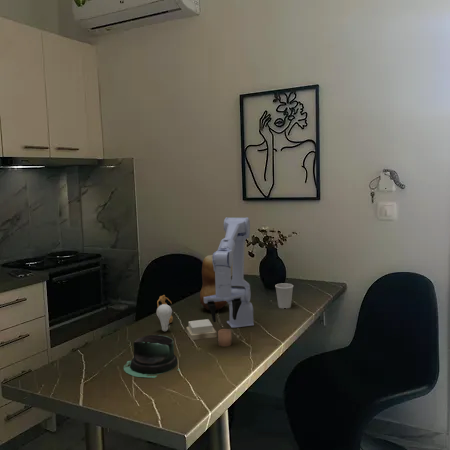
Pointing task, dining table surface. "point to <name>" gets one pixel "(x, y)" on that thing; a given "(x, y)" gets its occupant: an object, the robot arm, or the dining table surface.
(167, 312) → the lightbulb
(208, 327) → the cream slab
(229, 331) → the terracotta cylinder
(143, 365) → the black hat
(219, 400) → the dining table surface
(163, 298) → the figurine
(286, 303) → the dixie cup
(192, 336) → the birch slab
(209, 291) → the butternut squash
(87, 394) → the dining table surface
